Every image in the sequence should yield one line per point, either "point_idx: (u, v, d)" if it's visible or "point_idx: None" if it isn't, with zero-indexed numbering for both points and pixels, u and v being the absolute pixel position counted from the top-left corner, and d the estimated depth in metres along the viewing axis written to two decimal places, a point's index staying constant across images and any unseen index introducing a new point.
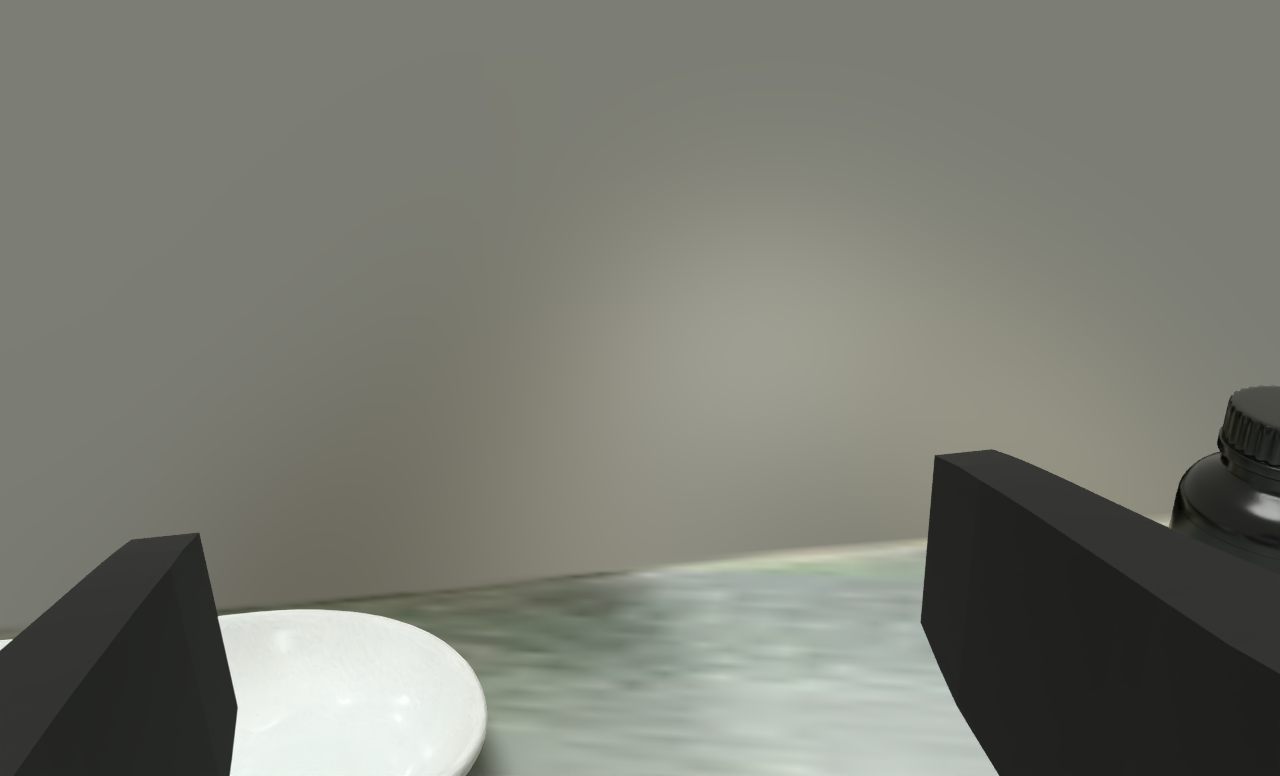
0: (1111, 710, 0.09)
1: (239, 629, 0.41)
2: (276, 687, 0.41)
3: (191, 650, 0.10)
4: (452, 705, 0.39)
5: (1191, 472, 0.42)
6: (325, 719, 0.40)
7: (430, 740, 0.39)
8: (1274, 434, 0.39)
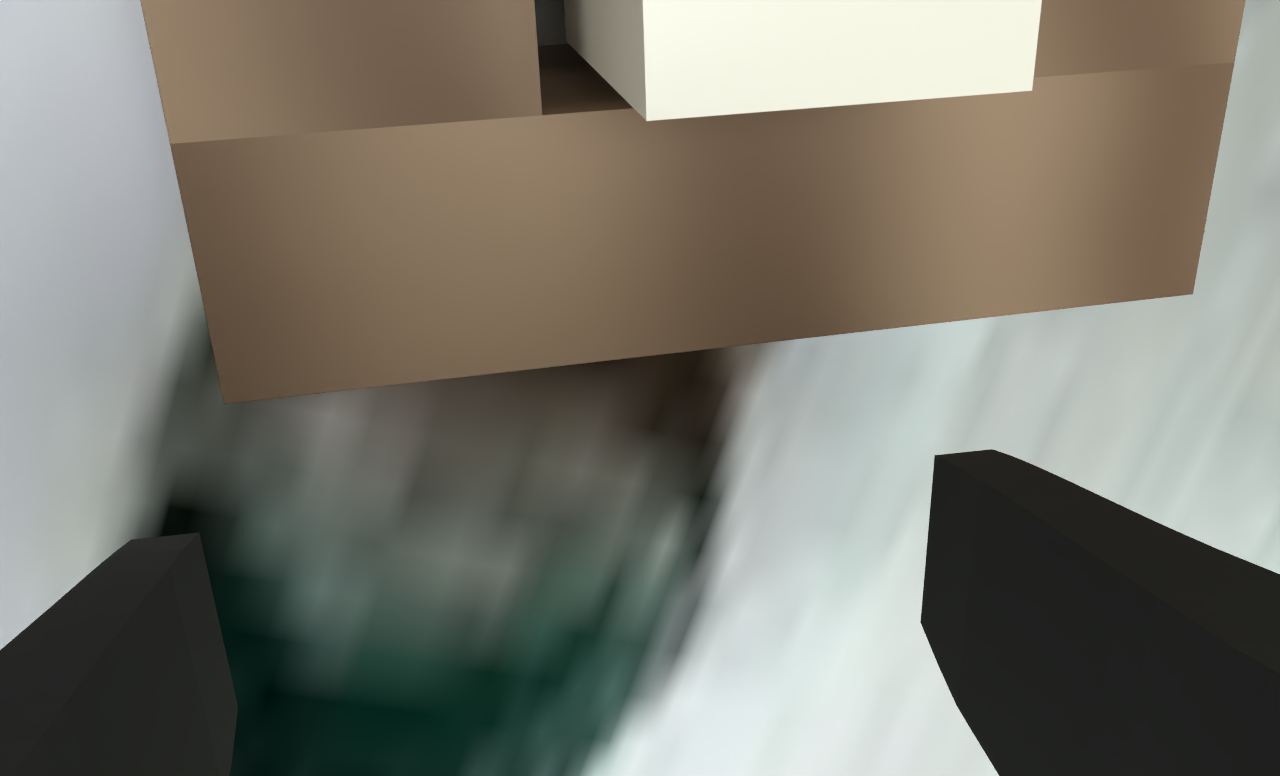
0: (1112, 710, 0.09)
1: None
2: None
3: (191, 650, 0.10)
4: None
5: None
6: None
7: None
8: None
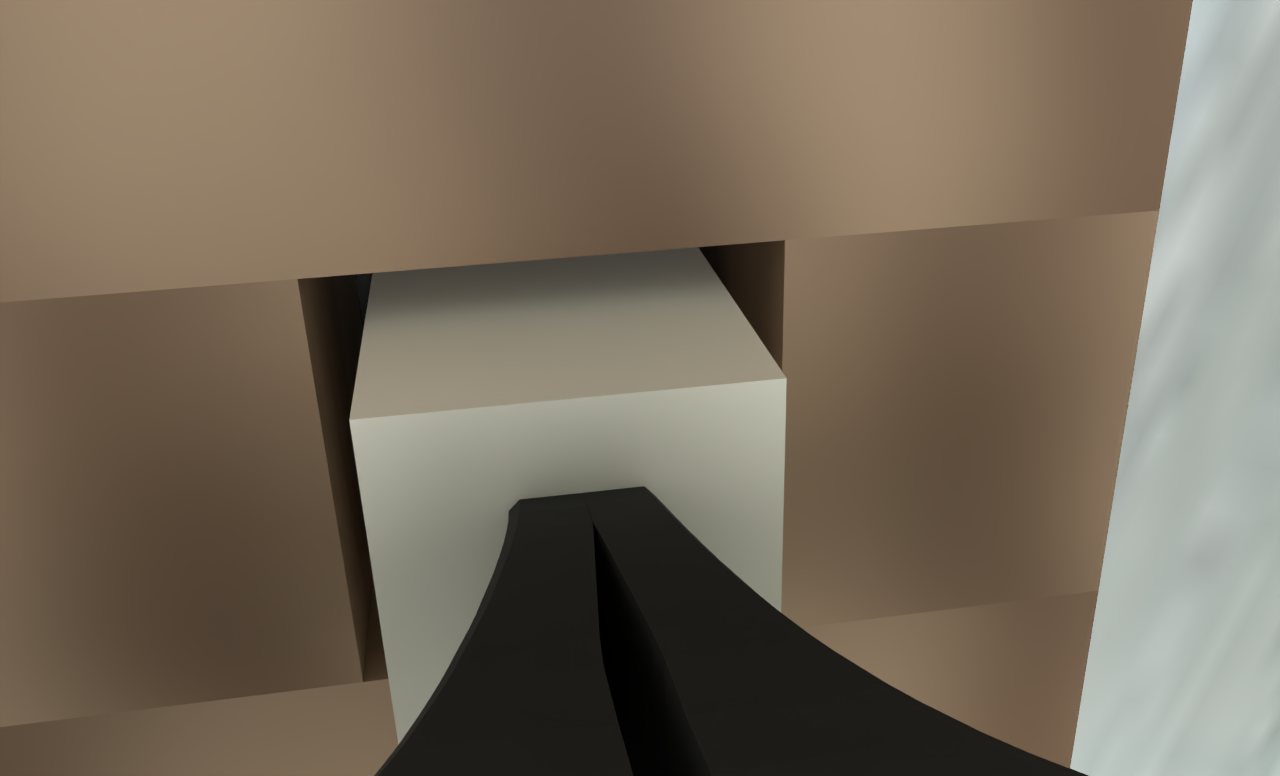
0: (659, 771, 0.08)
1: None
2: None
3: None
4: None
5: None
6: None
7: None
8: None
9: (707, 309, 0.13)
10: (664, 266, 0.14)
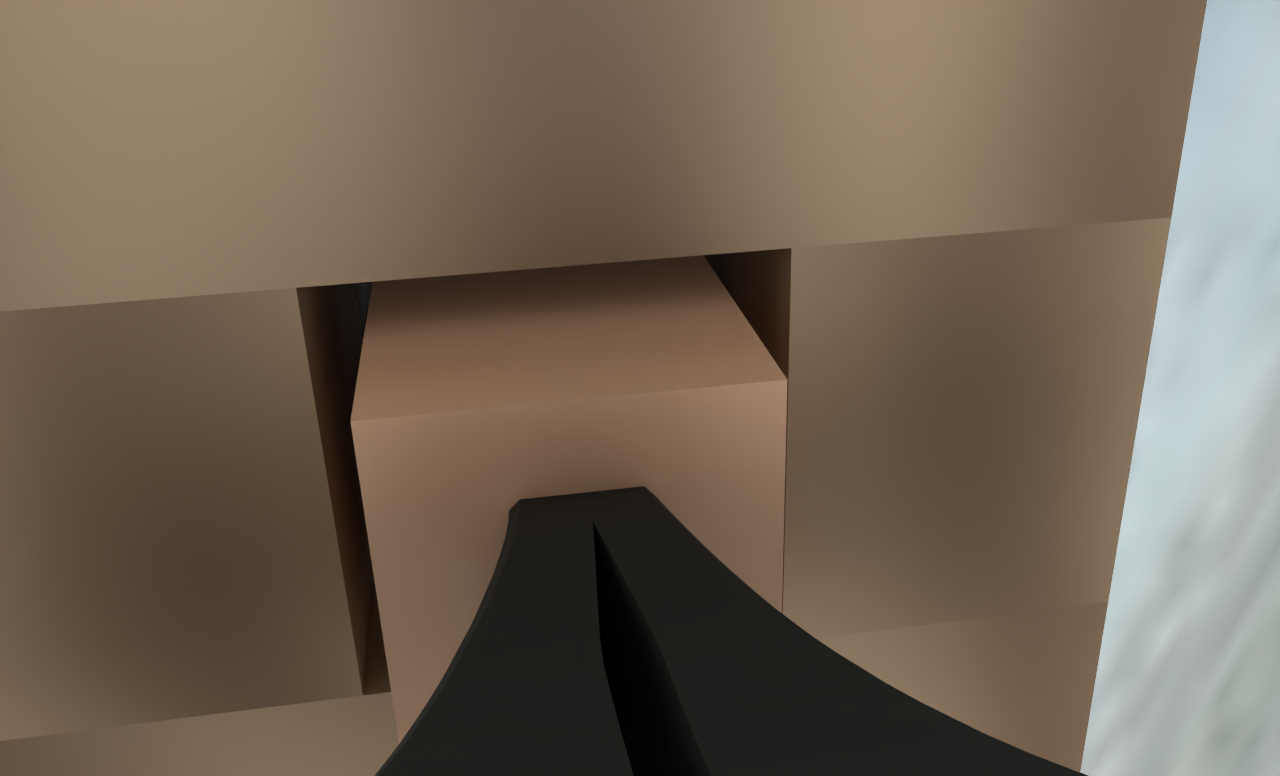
0: (659, 772, 0.08)
1: None
2: None
3: None
4: None
5: None
6: None
7: None
8: None
9: None
10: None
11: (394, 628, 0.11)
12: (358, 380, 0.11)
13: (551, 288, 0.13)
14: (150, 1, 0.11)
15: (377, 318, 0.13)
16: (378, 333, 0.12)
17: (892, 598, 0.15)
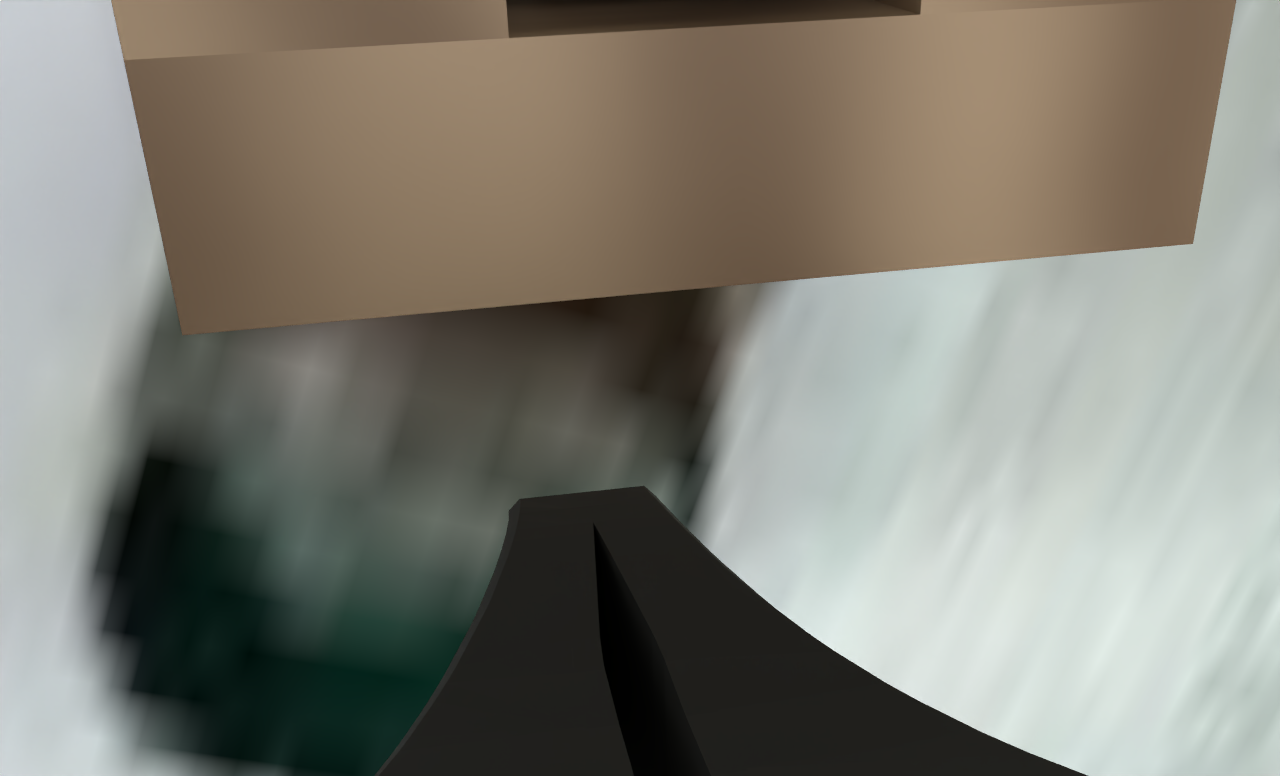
0: (659, 771, 0.08)
1: None
2: None
3: None
4: None
5: None
6: None
7: None
8: None
9: None
10: None
11: None
12: None
13: None
14: None
15: None
16: None
17: None
